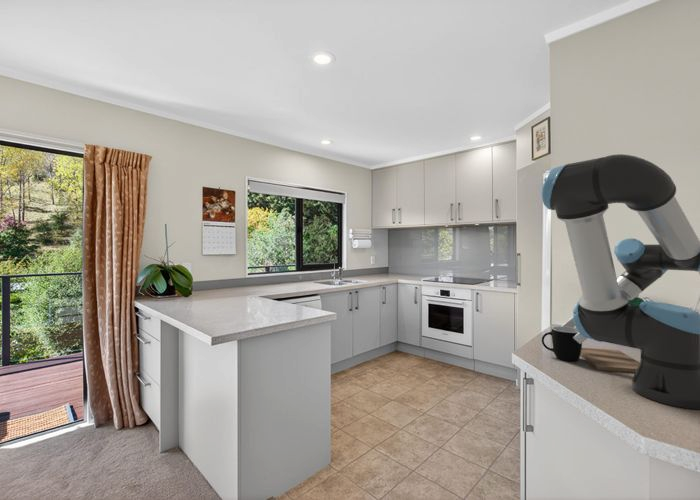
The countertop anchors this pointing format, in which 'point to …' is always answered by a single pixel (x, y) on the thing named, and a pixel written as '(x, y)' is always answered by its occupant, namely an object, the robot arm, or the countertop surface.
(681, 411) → the countertop surface
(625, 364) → the walnut board
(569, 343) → the mug
